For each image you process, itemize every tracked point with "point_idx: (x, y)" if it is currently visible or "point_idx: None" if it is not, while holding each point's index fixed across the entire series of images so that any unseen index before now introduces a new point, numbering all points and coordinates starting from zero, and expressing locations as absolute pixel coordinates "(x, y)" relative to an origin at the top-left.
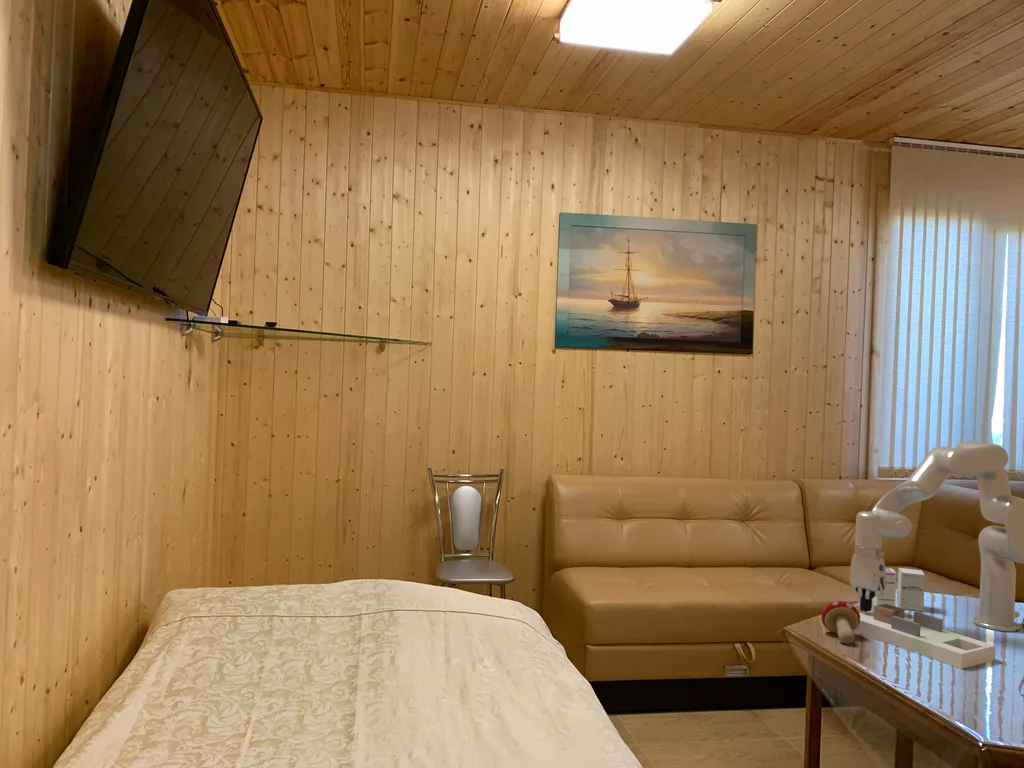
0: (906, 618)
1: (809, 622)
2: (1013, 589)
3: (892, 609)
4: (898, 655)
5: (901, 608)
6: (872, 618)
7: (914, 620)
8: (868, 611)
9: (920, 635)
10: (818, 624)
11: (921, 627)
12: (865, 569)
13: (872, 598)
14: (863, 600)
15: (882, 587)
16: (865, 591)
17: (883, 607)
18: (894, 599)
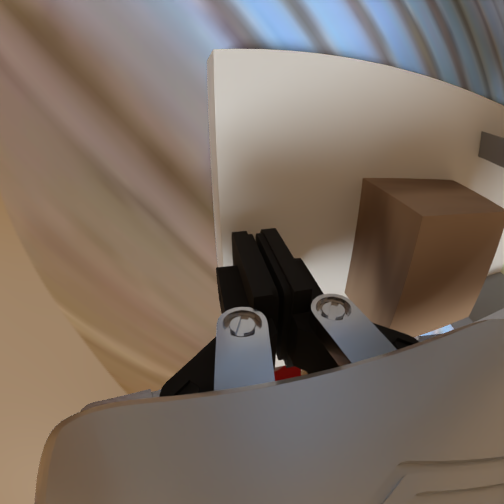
0: (435, 90)
1: (124, 385)
2: None
3: (469, 287)
4: (439, 328)
5: (498, 215)
6: (335, 289)
7: (494, 163)
8: (222, 193)
9: (501, 265)
10: (150, 376)
11: (501, 177)
12: None
13: (332, 303)
14: (278, 352)
15: (497, 329)
16: (260, 367)
17: (429, 311)
18: None
